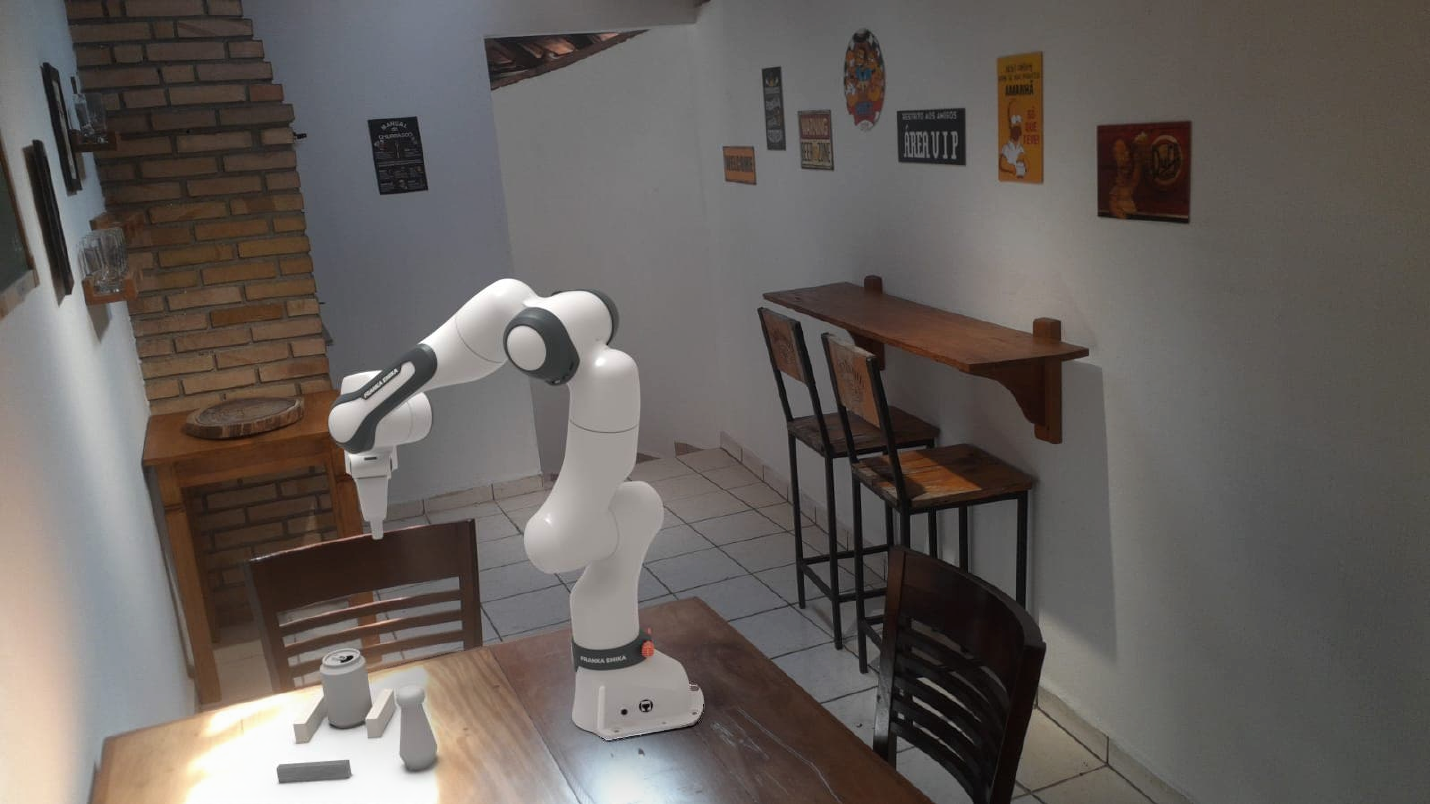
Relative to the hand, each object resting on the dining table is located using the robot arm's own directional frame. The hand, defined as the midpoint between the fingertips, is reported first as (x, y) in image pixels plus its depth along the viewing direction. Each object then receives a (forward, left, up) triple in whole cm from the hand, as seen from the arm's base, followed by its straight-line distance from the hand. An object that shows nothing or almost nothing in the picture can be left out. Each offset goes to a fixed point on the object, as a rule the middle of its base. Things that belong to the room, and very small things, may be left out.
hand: (377, 537), depth 193 cm
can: (+5, +13, -28) cm, 32 cm away
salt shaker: (-11, +29, -28) cm, 42 cm away
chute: (+5, +15, -28) cm, 32 cm away
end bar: (+5, +31, -28) cm, 42 cm away
